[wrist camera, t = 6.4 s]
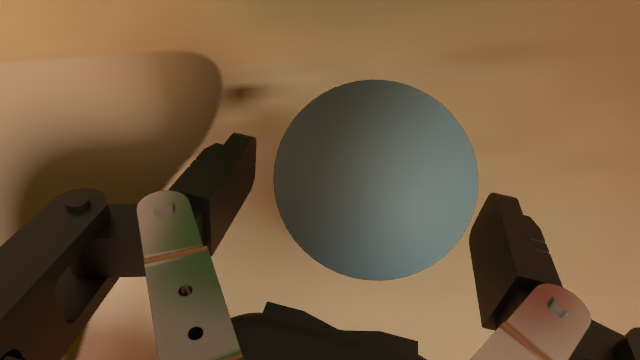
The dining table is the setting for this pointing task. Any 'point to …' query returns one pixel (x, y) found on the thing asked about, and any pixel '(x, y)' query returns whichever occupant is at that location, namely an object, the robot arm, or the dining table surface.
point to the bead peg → (375, 180)
